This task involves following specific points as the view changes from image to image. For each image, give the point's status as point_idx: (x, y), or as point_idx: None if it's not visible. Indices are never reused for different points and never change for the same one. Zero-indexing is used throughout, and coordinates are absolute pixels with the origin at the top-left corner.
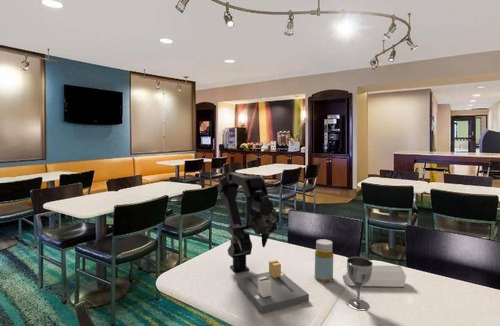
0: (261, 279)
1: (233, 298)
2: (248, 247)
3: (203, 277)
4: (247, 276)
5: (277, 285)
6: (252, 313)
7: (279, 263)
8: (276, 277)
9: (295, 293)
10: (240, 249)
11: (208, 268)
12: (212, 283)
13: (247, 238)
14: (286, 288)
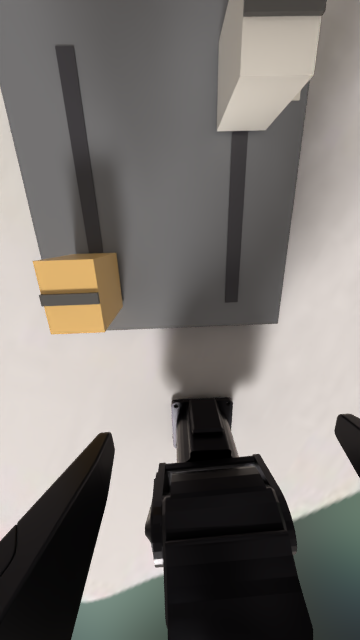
0: (311, 9)
1: (336, 209)
2: (188, 497)
3: (344, 403)
4: (227, 323)
5: (127, 169)
6: (338, 19)
7: (41, 271)
8: None
9: (56, 2)
10: (247, 488)
11: (297, 452)
12: (341, 354)
13: (190, 591)
14: (90, 106)
